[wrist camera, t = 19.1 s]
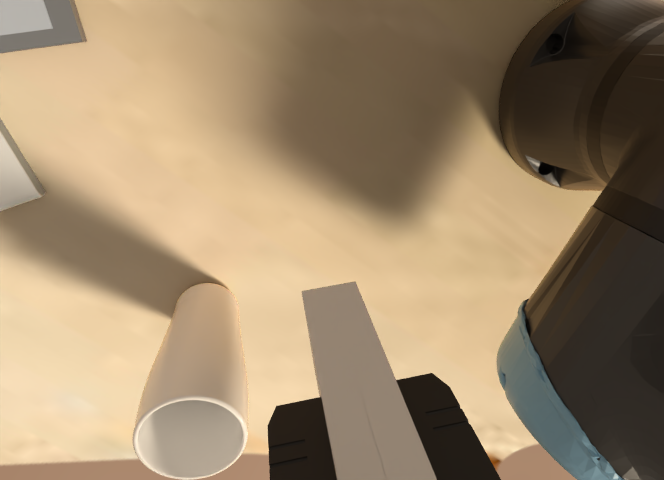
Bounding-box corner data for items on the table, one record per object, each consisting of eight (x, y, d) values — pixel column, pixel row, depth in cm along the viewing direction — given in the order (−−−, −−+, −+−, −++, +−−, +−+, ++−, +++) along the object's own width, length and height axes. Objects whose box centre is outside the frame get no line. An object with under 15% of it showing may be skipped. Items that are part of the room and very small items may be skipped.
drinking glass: (195, 351, 44) (173, 497, 30) (151, 295, 41) (105, 429, 27) (261, 317, 43) (269, 450, 30) (222, 259, 40) (211, 377, 27)
